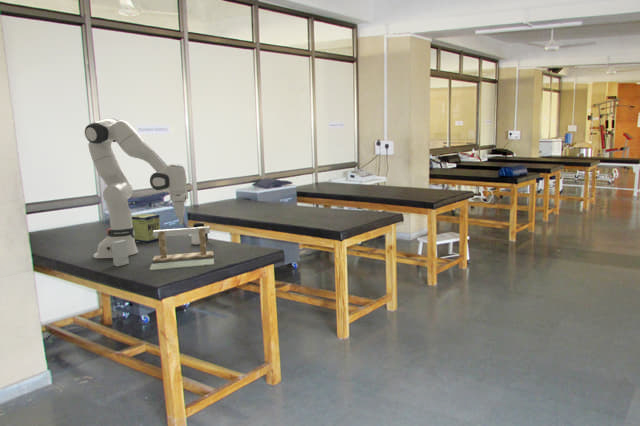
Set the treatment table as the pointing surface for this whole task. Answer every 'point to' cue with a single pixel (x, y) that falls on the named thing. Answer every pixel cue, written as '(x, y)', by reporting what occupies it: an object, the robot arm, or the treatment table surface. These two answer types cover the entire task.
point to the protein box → (145, 227)
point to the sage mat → (182, 264)
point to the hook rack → (166, 257)
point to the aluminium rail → (181, 231)
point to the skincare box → (120, 252)
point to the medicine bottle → (196, 236)
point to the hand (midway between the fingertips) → (181, 222)
